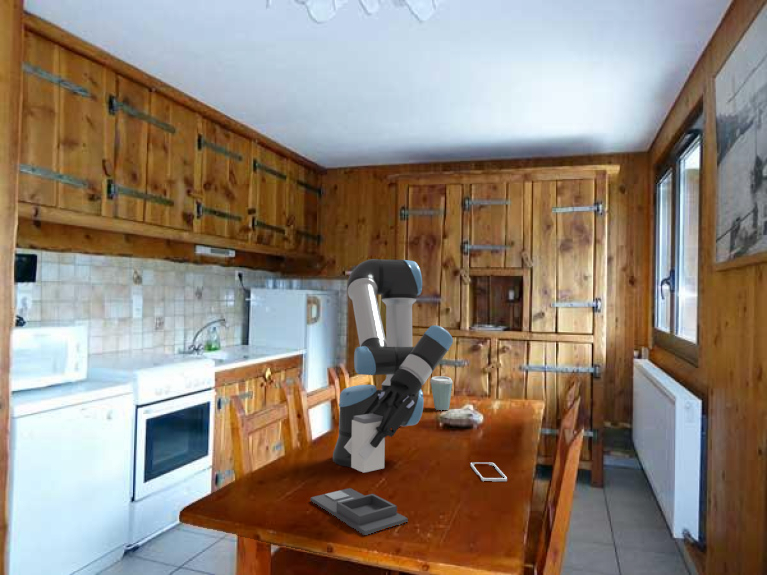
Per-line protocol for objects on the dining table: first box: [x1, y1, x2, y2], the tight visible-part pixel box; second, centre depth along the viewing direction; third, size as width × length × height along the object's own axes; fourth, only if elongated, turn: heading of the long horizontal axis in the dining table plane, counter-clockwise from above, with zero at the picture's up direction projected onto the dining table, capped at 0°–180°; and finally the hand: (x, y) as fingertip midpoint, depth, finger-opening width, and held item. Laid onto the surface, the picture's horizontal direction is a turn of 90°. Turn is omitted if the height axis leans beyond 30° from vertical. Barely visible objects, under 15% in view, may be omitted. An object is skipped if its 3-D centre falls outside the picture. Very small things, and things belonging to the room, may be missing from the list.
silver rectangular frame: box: [470, 461, 508, 482], centre depth 160 cm, size 7×1×15 cm
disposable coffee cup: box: [429, 375, 454, 412], centre depth 251 cm, size 11×11×15 cm
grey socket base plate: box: [310, 487, 409, 536], centre depth 130 cm, size 24×12×3 cm, turn 37°
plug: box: [350, 413, 386, 473], centre depth 126 cm, size 5×6×12 cm
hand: (355, 453), depth 124 cm, fingers closed on plug, 5 cm apart
